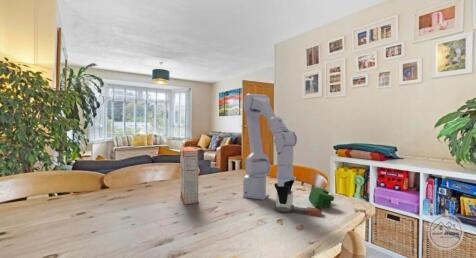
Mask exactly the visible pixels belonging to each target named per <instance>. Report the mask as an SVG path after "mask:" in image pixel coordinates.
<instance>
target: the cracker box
mask: <svg viewBox="0 0 476 258" xmlns="http://www.w3.org/2000/svg"><path fill="white" fill-rule="evenodd" d="M179 149H180V151H179V153H180V155H179V157H180V159H179V160H180V163H179V164H180V173H179V174H180V197H181V199H182V202H183V205H186V206H187V205H193V204H199V151H198V149H196V148H194V147H193V146H191V147H190V146H188V147H187V146H184V147H180V148H179Z"/></svg>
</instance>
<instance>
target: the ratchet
mask: <svg viewBox="0 0 476 258" xmlns="http://www.w3.org/2000/svg"><path fill="white" fill-rule="evenodd" d="M274 211H275V212H277V213H280V214H291V213H292V214H293V213H297V214H303V215H306V216H307V215H308V216H314V217H322V214H323V208H321V209H320V208H317V207H311V206H309V207H299V206H295V205H294V204H293V205H292V207H291V208H290V209H289V208H282V207H276V203H274Z"/></svg>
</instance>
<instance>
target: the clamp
mask: <svg viewBox="0 0 476 258" xmlns="http://www.w3.org/2000/svg"><path fill="white" fill-rule="evenodd" d="M308 200H309V202H310V203H311V204H312V205H313V208H318V209H323V208H322V207H326V208H331V204H332V202H333V201H334V200H335V196H334V195H331V194H329V191H328V190H327V189H325V188H321V187H316V186H313V185H312V186H311V188H310V192H309V196H308Z"/></svg>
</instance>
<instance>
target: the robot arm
mask: <svg viewBox="0 0 476 258" xmlns="http://www.w3.org/2000/svg"><path fill="white" fill-rule="evenodd" d="M243 110H244V115H246V125H247V133H248V141H249V150H250V151H249V152H250V154H249V155H247V157H246V158H245V164H244V165H245V166H244V168H245V169H244V170H245V173H246V174H245V175H244V178H243V181H242V182H243V184H242V188H243V189H242V191H243V193H242V197H243V198H246V199H247V198H249V199H256V200H265V199H266V198H267V197H268V196H269V193H267V177H268V174H270V172H271V167H272V166H271V163H270V161H269V156H268V155H266V154H265V153H264V152H263V151H264V150H263V144H262V137H261V136H262V135H261V128H260V121H259V120H260V118H259V117H260V116H261V115H263V116H264V117H265V119H266V120H267V121H268V122H267V127H268V128H269V130H270V132H271V134H272V136H273V137H274V138H273V144H274V145H275V151H276V159H277V160H276V163H277V164H276V175H275V176H276V177H275V178H276V181H277V182H275V183H274V188H275V190H276V194H277V193H278V197H279V202H280V204H286V202H287V196H288V192H289V191H292V189H293V186H294V183H295V181H296V179H297V177H296V176H294V147H295V146H296V145H297V143H298V138H297V134H296V133H295V132H294V131H293V130H291V129H288V127H287V125H286V124H285V123H284V121H283V119H282V117H279V116H277V115H276V114H275V112H274V109H273V108H272V106H271V99H270V98H269V96H268V95H267V94H257V93H256V94H255V93H246V95H244V98H243Z"/></svg>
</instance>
